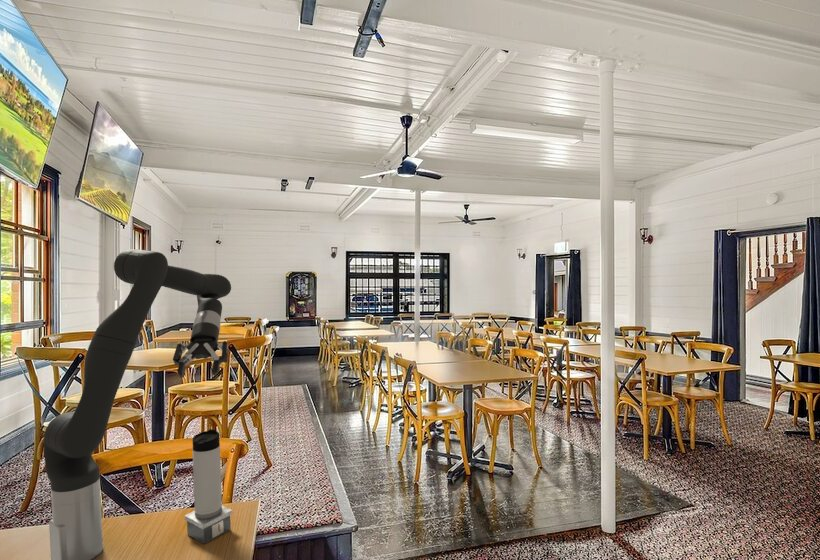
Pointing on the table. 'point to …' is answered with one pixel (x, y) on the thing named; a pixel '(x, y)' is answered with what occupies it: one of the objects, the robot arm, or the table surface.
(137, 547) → the table surface
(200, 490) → the travel mug
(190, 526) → the lidded box with label
